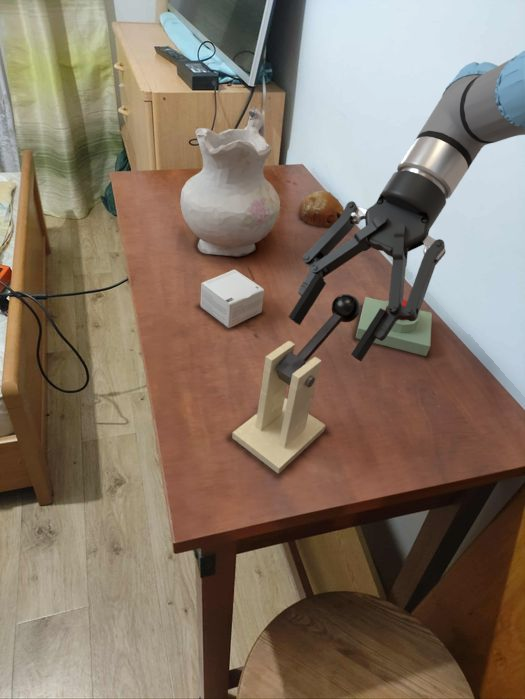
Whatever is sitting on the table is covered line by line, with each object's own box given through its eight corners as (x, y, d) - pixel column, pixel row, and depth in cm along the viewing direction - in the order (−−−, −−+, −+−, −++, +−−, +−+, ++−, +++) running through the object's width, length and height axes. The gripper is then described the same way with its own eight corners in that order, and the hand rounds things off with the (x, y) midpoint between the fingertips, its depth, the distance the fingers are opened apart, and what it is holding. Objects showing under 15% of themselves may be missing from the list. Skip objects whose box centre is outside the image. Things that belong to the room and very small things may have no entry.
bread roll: (317, 220, 126) (310, 188, 123) (354, 217, 120) (347, 182, 117) (296, 233, 120) (288, 200, 117) (333, 230, 114) (326, 195, 110)
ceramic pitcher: (202, 215, 117) (195, 98, 101) (286, 224, 114) (293, 105, 98) (172, 263, 100) (158, 131, 84) (269, 275, 98) (274, 141, 82)
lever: (342, 300, 67) (342, 283, 64) (365, 313, 66) (366, 296, 63) (274, 377, 63) (270, 362, 60) (297, 392, 61) (294, 378, 58)
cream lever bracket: (279, 400, 73) (293, 325, 64) (324, 431, 70) (345, 356, 61) (231, 438, 67) (239, 360, 58) (278, 474, 64) (294, 397, 55)
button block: (428, 322, 92) (435, 304, 89) (426, 356, 85) (434, 338, 82) (362, 306, 94) (367, 288, 91) (355, 338, 86) (360, 319, 84)
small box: (233, 292, 93) (235, 268, 90) (262, 313, 89) (265, 289, 86) (199, 306, 88) (199, 281, 85) (228, 329, 84) (230, 304, 81)
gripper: (503, 232, 62) (403, 388, 62) (355, 173, 72) (269, 308, 72) (506, 202, 55) (394, 378, 56) (342, 141, 65) (247, 291, 65)
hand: (324, 338), depth 64 cm, fingers open, 9 cm apart
